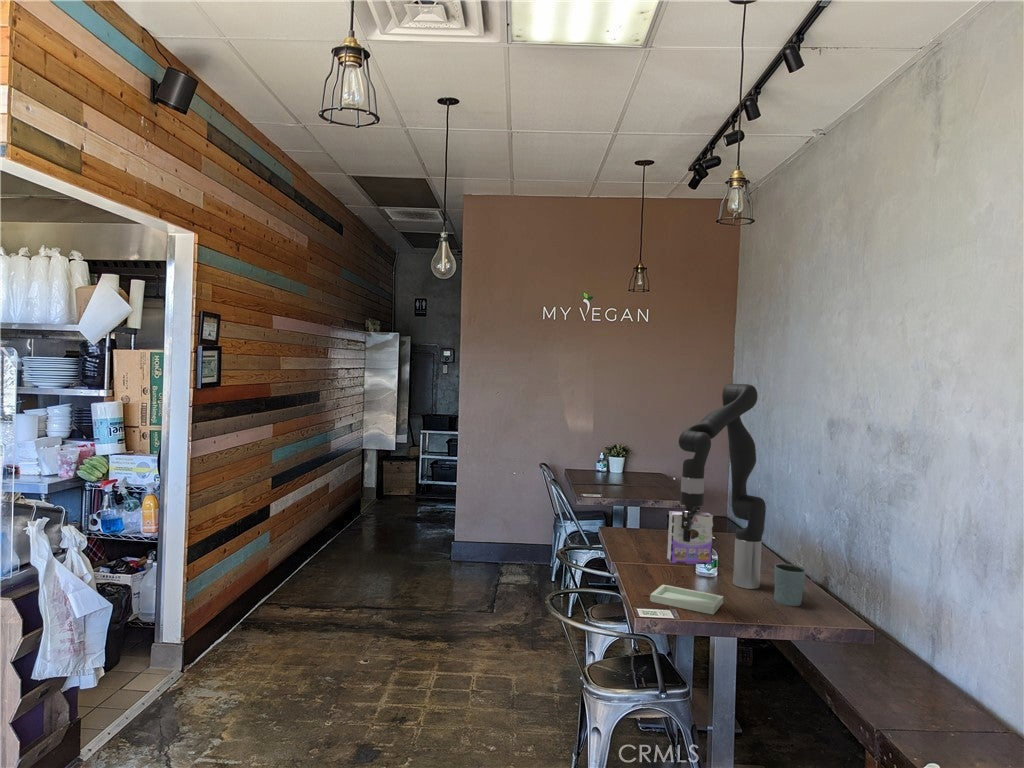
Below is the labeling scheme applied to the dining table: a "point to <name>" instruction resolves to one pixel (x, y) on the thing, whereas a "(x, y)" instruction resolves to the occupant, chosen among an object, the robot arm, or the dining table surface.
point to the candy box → (699, 540)
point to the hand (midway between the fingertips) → (689, 539)
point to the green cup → (788, 584)
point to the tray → (687, 599)
